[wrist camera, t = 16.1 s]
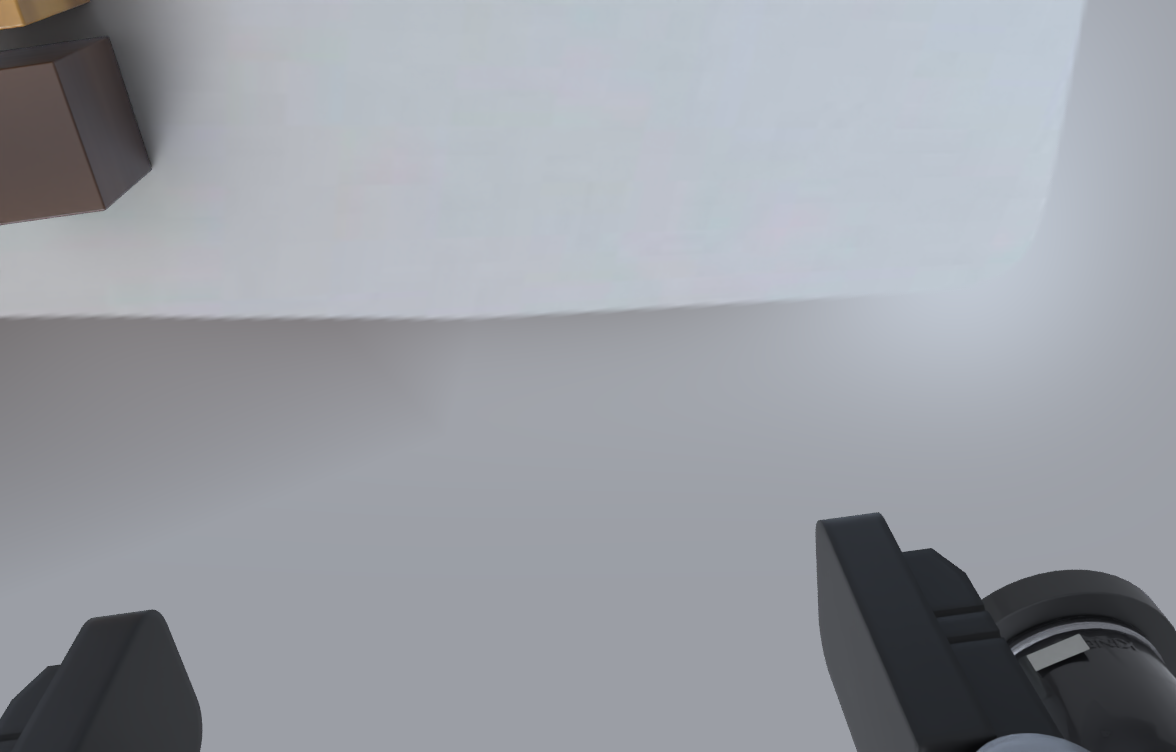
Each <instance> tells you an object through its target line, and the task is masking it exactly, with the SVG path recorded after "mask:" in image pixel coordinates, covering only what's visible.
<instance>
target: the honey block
mask: <svg viewBox="0 0 1176 752" xmlns="http://www.w3.org/2000/svg"><path fill="white" fill-rule="evenodd" d="M89 2H90V0H0V30H3V29H10V28H17V27H23V26H26V25H29V24H32V23H35V22H37V21H40V20H43V19H45V18H48V17H51V16H53V15H56V14H59V13H62V12H64V11H67V10H70V9H72V8H75V7H78V6H81V5H83V4H86V3H89Z"/></svg>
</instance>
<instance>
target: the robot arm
mask: <svg viewBox="0 0 1176 752" xmlns="http://www.w3.org/2000/svg"><path fill="white" fill-rule="evenodd" d="M816 559H817V584H818V610H819V626H820V635H821V641H822V646H823V651H824V656H825V660H826V664H827V667H828V671H829V674H830V677H831V680H832V682H833V685H834V688H835V691H836V693H837V696H838V699H839V702H840V704H841V707H842V710H843V713H844V716H845V719H846V721H847V724H848V727H849V729H850V732H851V735H852V738H853V741H854V744H855V746H856V749H857V752H1176V678H1175V677H1174V676H1173V674H1172V673H1171V672H1170V670H1169V669H1168V668H1167V666H1166V665H1165V663H1164V661H1163V659H1162V657H1161V655H1160V654H1159V652H1158V651H1157V650H1156V648H1155V647H1154V646H1153V645H1152V643H1151V642H1150V641H1149V639H1148V638H1147V637H1146V636H1145V635H1144V634H1143V633H1142V632H1141V631H1139V630H1138V629H1137V628H1135V627H1134V626H1132V625H1130V624H1128V623H1126V622H1124V621H1121V620H1118V619H1115V618H1111V617H1106V616H1100V615H1075V616H1067V617H1061V618H1057V619H1053V620H1050V621H1047V622H1043V623H1041V624H1038V625H1036V626H1033V627H1031V628H1029V629H1027V630H1025V631H1023V632H1021V633H1019V634H1018V635H1016V636H1014V637H1013V638H1011V639H1010V640H1008V641H1007V642H1006V640H1005V639H1004V637H1002V638H1001V636H1000V630H999V628H998V627H997V625H996V623H995V622H994V620H993V618H992V617H991V615H990V613H989V612H988V611H985V607H984V603H983V602H982V600H981V598H980V597H979V595H978V594H977V592H976V590H975V588H974V587H973V585H972V583H971V581H970V580H969V578H968V577H967V575H966V573H965V572H963V571H962V570H961V569H959V568H958V567H957V566H955V565H954V564H952V563H951V562H950V561H948V560H947V559H946V558H944V557H943V556H941V555H940V554H939V553H937V552H936V551H935V550H933V549H932V548H930V549H922V550H915V551H908V552H901V550H900V548H899V546H898V544H897V542H896V540H895V538H894V536H893V534H892V532H891V531H890V529H889V527H888V525H887V523H886V521H885V519H884V518H883V516H882V515H881V514H880V513H879V512H878V513H870V514H862V515H855V516H848V517H841V518H833V519H827V520H819V521H818V522H817V524H816ZM201 741H202V717H201V711H200V706H199V703H198V700H197V697H196V695H195V692H194V690H193V687H192V685H191V682H190V680H189V677H188V675H187V672H186V670H185V668H184V665H183V662H182V660H181V657H180V655H179V652H178V650H177V647H176V645H175V642H174V640H173V638H172V635H171V633H170V630H169V627H168V625H167V623H166V621H165V619H164V617H163V616H162V615H161V614H160V613H159V612H158V611H156V610H146V611H139V612H132V613H124V614H117V615H109V616H103V617H96V618H91V619H90V620H88V621H87V622H86V623H85V624H84V625H83V627H82V628H81V630H80V632H79V634H78V635H77V637H76V639H75V641H74V642H73V644H72V646H71V648H70V649H69V651H68V653H67V655H66V656H65V658H64V660H63V662H62V663H61V665H55V666H48V667H47V668H46V669H45V670H43V671H42V672H41V673H40V674H39V675H38V676H37V677H36V678H35V679H34V680H33V681H32V682H31V683H30V684H28V685H27V686H26V687H25V688H24V689H23V690H22V691H21V692H20V693H19V694H18V695H17V696H16V697H15V698H14V699H12V701H11V702H10V704H9V706H8V707H7V709H6V711H5V712H4V714H3V715H2V717H1V719H0V752H200V748H201Z"/></svg>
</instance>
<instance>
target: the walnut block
mask: <svg viewBox="0 0 1176 752" xmlns="http://www.w3.org/2000/svg"><path fill="white" fill-rule="evenodd" d="M151 170H152V168H151V165H150V162H149V159H148V156H147V153H146V150H145V147H144V144H143V140H142V137H141V134H140V131H139V128H138V125H137V122H136V119H135V116H134V113H133V110H132V107H131V104H130V101H129V98H128V95H127V91H126V88H125V85H124V82H123V79H122V76H121V73H120V70H119V67H118V64H117V61H116V58H115V55H114V52H113V49H112V46H111V43H110V39H109V37H108V36H104V37H97V38H90V39H83V40H76V41H69V42H62V43H55V44H48V45H41V46H34V47H27V48H20V49H13V50H6V51H0V225H5V224H12V223H19V222H26V221H33V220H40V219H47V218H54V217H61V216H68V215H75V214H83V213H90V212H97V211H104V210H106V209H107V208H108V207H109V206H111V205H112V204H113V203H114V202H115V201H116V200H118V199H119V198H120V197H121V196H122V195H123V194H124V193H126V192H127V191H128V190H129V189H130V188H131V187H132V186H134V185H135V184H136V183H137V182H138V181H139V180H141V179H142V178H143V177H144V176H145V175H146V174H147V173H149V172H150V171H151Z"/></svg>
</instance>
